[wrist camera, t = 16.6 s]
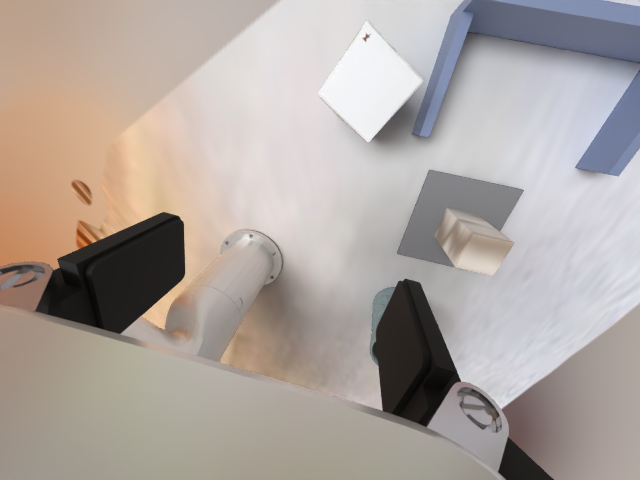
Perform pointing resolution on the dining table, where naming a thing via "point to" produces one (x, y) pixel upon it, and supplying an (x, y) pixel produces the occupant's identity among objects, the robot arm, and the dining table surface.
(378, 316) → the green cup
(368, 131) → the supplement box
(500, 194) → the grey pad
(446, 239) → the cream blank
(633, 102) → the blue u-shaped wall
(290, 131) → the dining table surface
